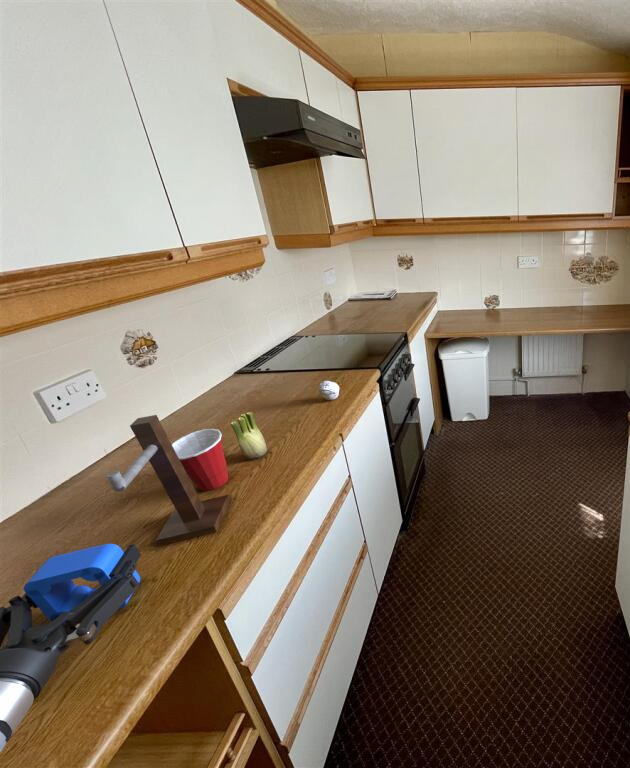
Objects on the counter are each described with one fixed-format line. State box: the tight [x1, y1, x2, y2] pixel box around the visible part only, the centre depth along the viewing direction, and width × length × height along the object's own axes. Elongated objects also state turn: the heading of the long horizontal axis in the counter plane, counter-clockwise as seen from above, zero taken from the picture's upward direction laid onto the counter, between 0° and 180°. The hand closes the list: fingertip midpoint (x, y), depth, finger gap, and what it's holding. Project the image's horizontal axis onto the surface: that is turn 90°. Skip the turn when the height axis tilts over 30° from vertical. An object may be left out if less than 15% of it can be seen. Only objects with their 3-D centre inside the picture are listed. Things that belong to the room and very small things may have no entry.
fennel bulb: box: [230, 411, 268, 460], centre depth 104 cm, size 6×5×12 cm
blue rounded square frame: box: [23, 543, 141, 626], centre depth 66 cm, size 5×10×10 cm, turn 108°
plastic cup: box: [171, 428, 229, 492], centre depth 94 cm, size 11×11×12 cm
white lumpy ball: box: [318, 380, 340, 401], centre depth 132 cm, size 6×7×7 cm
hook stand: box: [105, 414, 231, 547], centre depth 76 cm, size 19×10×25 cm, turn 18°
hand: (98, 559), depth 70 cm, fingers closed on blue rounded square frame, 10 cm apart
